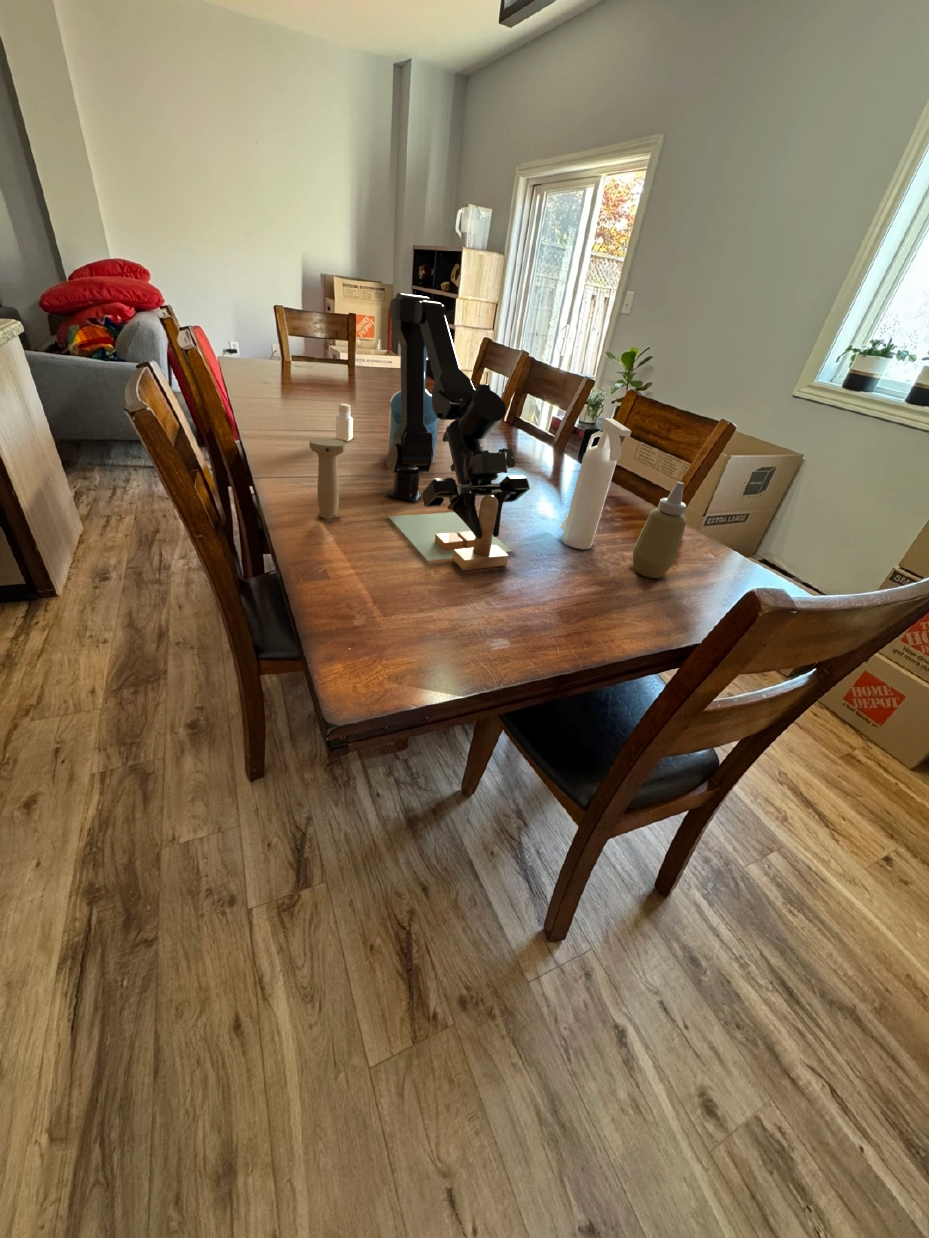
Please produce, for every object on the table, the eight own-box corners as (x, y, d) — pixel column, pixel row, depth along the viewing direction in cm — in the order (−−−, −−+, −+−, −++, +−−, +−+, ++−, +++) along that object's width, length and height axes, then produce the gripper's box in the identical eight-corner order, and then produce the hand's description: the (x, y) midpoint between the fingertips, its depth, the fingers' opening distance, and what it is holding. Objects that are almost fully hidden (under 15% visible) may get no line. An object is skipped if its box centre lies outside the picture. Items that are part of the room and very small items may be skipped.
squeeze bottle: (663, 586, 96) (699, 494, 86) (622, 571, 99) (652, 481, 89) (672, 572, 102) (707, 484, 92) (633, 558, 105) (663, 472, 95)
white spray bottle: (576, 529, 114) (607, 412, 101) (602, 554, 105) (641, 428, 91) (549, 529, 112) (577, 409, 99) (573, 554, 103) (609, 425, 89)
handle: (345, 524, 100) (345, 447, 92) (310, 522, 99) (308, 444, 91) (345, 515, 104) (345, 439, 96) (312, 513, 103) (310, 436, 94)
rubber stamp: (462, 575, 89) (473, 501, 82) (451, 564, 92) (461, 492, 85) (506, 570, 93) (520, 499, 86) (494, 559, 96) (506, 489, 89)
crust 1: (434, 541, 97) (435, 533, 96) (453, 539, 99) (454, 532, 98) (443, 550, 94) (444, 543, 93) (462, 548, 96) (463, 541, 95)
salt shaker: (335, 439, 148) (335, 405, 143) (340, 436, 152) (340, 402, 146) (348, 442, 148) (348, 407, 143) (353, 438, 151) (353, 405, 146)
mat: (387, 520, 105) (387, 516, 104) (464, 514, 113) (465, 511, 112) (426, 564, 91) (427, 560, 90) (511, 555, 99) (512, 551, 98)
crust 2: (456, 539, 99) (457, 531, 98) (474, 537, 101) (475, 530, 100) (466, 548, 96) (467, 540, 96) (484, 546, 98) (485, 539, 97)
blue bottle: (433, 470, 136) (445, 344, 120) (383, 464, 135) (389, 336, 119) (436, 456, 148) (448, 339, 131) (390, 450, 147) (396, 331, 130)
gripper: (436, 427, 78) (459, 523, 77) (535, 429, 87) (558, 515, 85) (412, 462, 88) (432, 548, 86) (503, 461, 97) (523, 539, 95)
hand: (488, 537), depth 88 cm, fingers closed on rubber stamp, 3 cm apart
